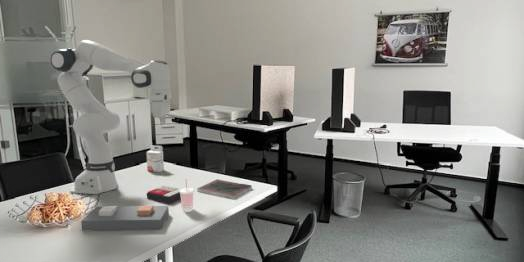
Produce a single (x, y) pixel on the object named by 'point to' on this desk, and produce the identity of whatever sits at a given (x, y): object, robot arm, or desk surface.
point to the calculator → (164, 194)
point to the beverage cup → (186, 198)
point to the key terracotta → (145, 210)
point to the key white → (107, 211)
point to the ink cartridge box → (155, 159)
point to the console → (126, 219)
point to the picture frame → (224, 189)
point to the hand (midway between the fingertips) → (162, 124)
